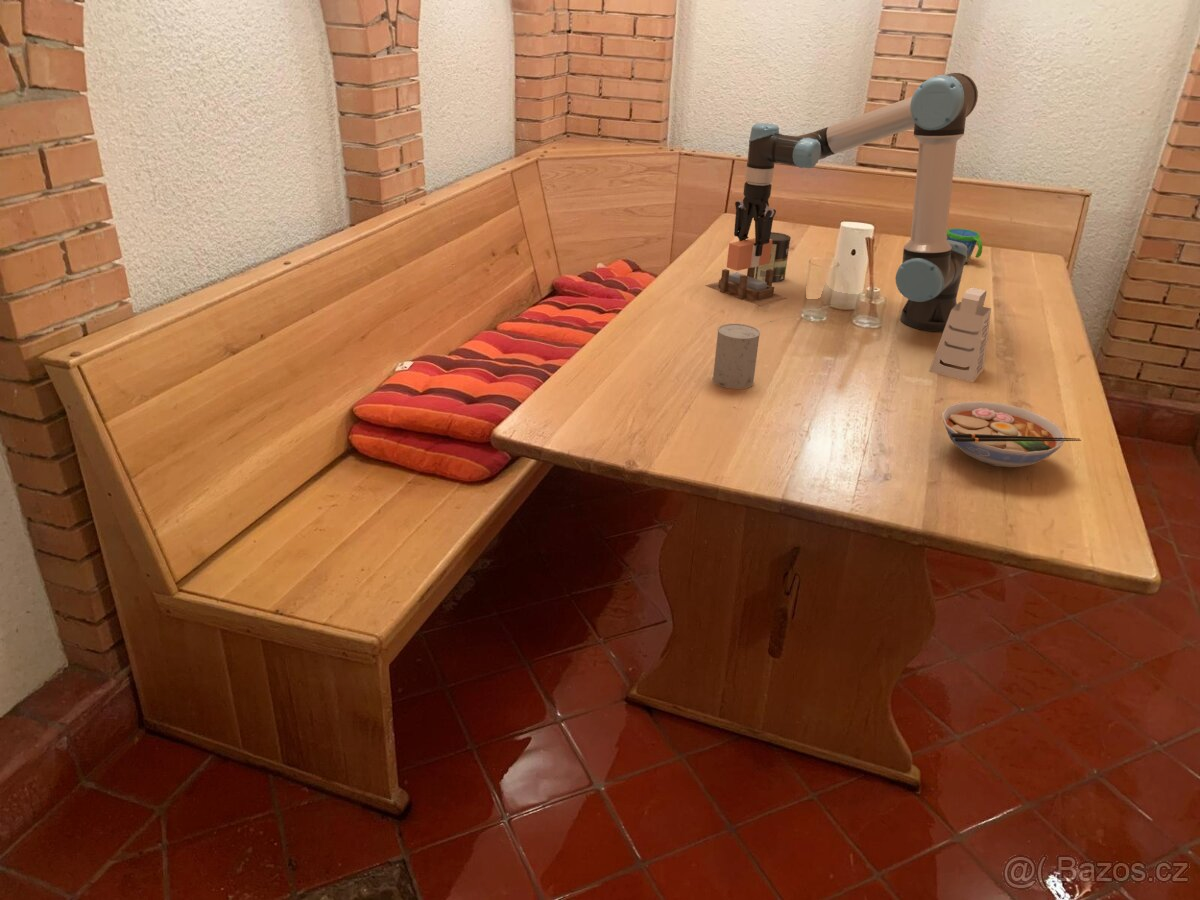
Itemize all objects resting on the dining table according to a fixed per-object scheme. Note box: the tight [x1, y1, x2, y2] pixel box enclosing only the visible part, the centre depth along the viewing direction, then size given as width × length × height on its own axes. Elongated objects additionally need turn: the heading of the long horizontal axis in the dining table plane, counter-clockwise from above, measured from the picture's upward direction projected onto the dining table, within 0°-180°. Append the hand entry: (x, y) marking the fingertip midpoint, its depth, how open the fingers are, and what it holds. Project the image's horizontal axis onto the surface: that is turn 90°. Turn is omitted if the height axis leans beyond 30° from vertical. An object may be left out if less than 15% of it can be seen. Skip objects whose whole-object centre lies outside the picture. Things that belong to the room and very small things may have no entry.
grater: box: [928, 287, 992, 383], centre depth 218 cm, size 10×10×20 cm
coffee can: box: [754, 231, 792, 283], centre depth 279 cm, size 10×10×14 cm
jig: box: [704, 267, 788, 306], centre depth 267 cm, size 22×13×8 cm, turn 39°
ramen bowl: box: [941, 400, 1082, 468], centre depth 180 cm, size 25×23×8 cm
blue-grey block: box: [728, 272, 767, 291], centre depth 267 cm, size 12×4×4 cm, turn 39°
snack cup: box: [946, 228, 983, 265], centre depth 308 cm, size 16×10×10 cm
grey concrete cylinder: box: [712, 323, 761, 390], centre depth 209 cm, size 10×10×12 cm
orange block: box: [726, 237, 772, 271], centre depth 263 cm, size 4×14×7 cm, turn 129°
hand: (748, 264), depth 264 cm, fingers closed on orange block, 4 cm apart
